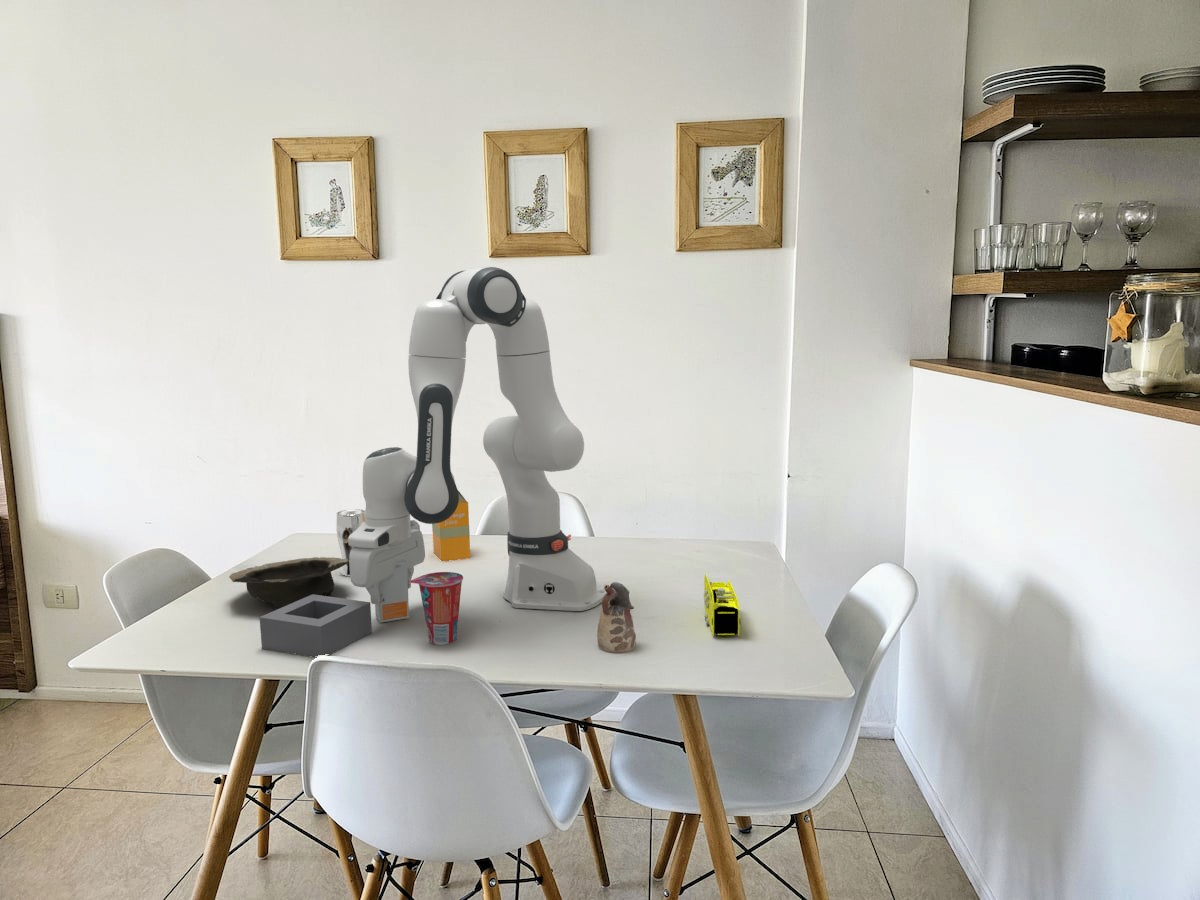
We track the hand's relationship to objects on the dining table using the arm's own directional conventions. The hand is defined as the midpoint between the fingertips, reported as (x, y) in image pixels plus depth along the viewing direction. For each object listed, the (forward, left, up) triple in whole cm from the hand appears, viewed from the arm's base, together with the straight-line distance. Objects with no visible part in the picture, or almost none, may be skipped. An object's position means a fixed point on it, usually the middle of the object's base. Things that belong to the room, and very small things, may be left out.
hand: (391, 595), depth 168 cm
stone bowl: (+29, -3, -5) cm, 30 cm away
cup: (-16, +7, -5) cm, 18 cm away
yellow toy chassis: (-63, -20, -5) cm, 66 cm away
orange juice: (+14, -44, -5) cm, 47 cm away
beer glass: (+28, -23, -5) cm, 37 cm away
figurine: (-48, -2, -5) cm, 48 cm away
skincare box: (0, 0, -5) cm, 5 cm away
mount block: (+6, +15, -5) cm, 17 cm away
